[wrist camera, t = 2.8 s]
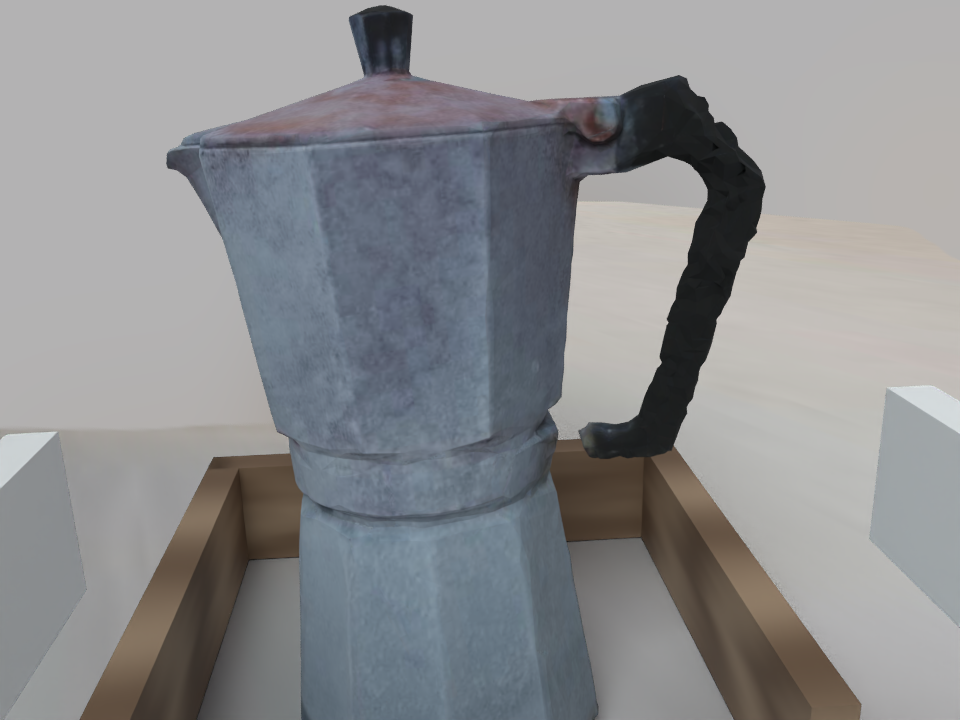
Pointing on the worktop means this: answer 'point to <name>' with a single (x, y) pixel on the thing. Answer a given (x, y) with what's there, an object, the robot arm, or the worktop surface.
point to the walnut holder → (585, 516)
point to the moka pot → (446, 362)
